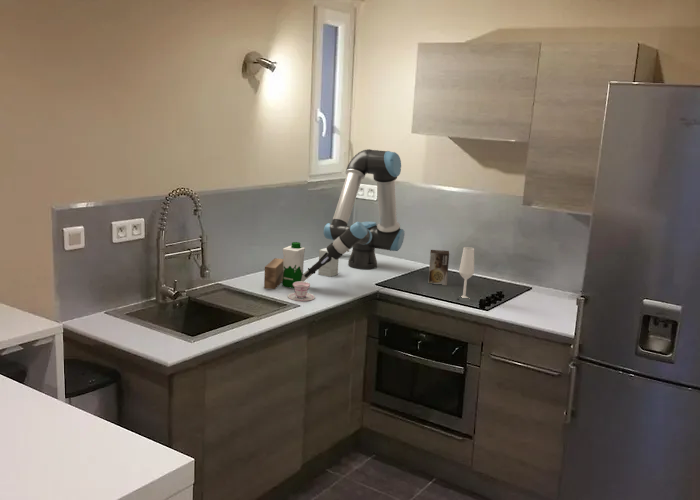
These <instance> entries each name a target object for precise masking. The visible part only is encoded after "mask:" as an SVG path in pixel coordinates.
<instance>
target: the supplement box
mask: <svg viewBox="0 0 700 500" xmlns="http://www.w3.org/2000/svg"><path fill="white" fill-rule="evenodd" d="M318 250H319V251H318V252H319V253H318V260H319V259H320V258H321V257H322V256H323V255H324V254H325V253H326V252H327V253H328V251H327V247H324V248H321V249H318ZM331 258H332V259H331V261H329V262H328V263H326V264H325V265H324V266H322V267H320V268H319V269H318V270H317V271H318V275H320V276H325V277H334V276H336V275H338V274H339V259H340V258H339V259H337V260H336V259H334V258H333V257H331Z"/></svg>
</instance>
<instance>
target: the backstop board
mask: <svg viewBox="0 0 700 500" xmlns="http://www.w3.org/2000/svg"><path fill="white" fill-rule="evenodd" d="M283 260H284V258H276V257H275V258H273V259H272V260H271V261H270V262H269V263H268V264H266V265H265V266H264V277H263V278H264V279H263V280H264V282H263V283H264V287H263V288H264V289H268V290H269V289H270V290H276V289H277V288H278V286H280V285H281V284H282V282H283Z"/></svg>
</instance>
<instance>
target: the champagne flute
mask: <svg viewBox="0 0 700 500" xmlns="http://www.w3.org/2000/svg"><path fill="white" fill-rule="evenodd" d="M474 273H475V248H474V247H470V246H464V247H463V250H462V253H461V259H460V265H459V270H458V274H459V275H460V276H461V277H462V279H464V280H463V281H464V282H463V288H462V289H463V291H462V295H461V297H462V298H469V297H468V295H466V294H467V283H468V280H469V279H470V278H471V277H473V275H475V274H474Z"/></svg>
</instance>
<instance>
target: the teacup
mask: <svg viewBox="0 0 700 500" xmlns="http://www.w3.org/2000/svg"><path fill="white" fill-rule="evenodd" d="M293 286H294V288H293V289H294V292H291V293H289V294H288V295H287V298H288V299H290V300H292V301H298V302H309V301H313V300H315V299H316V296H315V295H314V294H312V293H308V290H309V289H310V287H311V283H310V282H307V281H304V282H303V281H298V282H294V283H293Z"/></svg>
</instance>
